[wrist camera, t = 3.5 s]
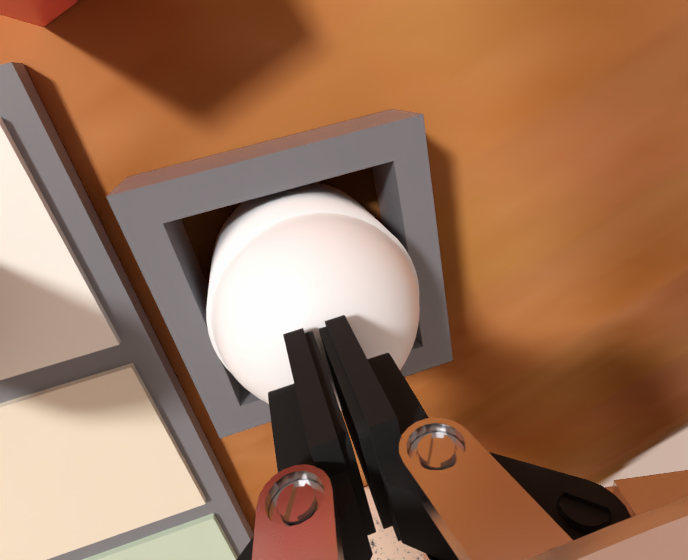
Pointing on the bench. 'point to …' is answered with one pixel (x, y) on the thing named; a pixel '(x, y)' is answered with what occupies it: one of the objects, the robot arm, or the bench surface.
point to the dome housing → (264, 179)
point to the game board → (88, 380)
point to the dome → (306, 283)
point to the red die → (35, 10)
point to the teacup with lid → (387, 539)
